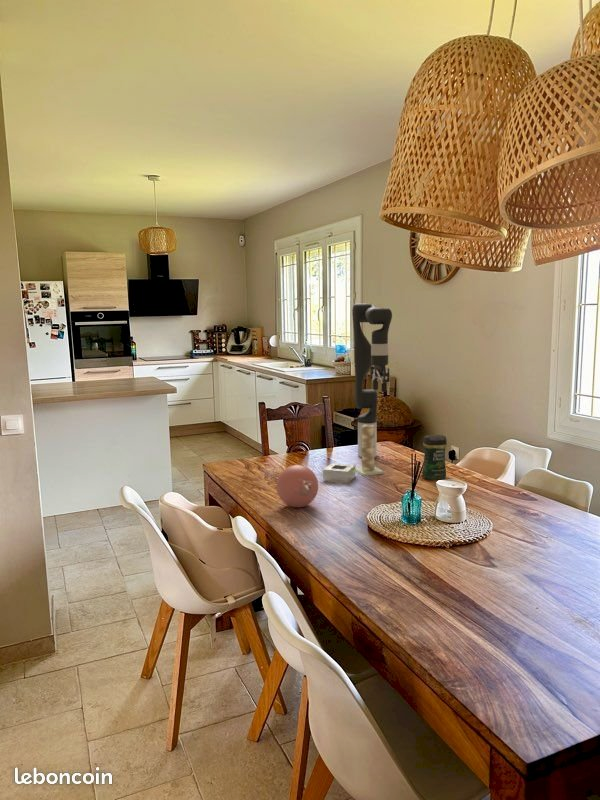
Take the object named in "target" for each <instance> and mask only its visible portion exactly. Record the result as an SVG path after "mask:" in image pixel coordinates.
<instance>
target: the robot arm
mask: <svg viewBox="0 0 600 800" xmlns="http://www.w3.org/2000/svg"><path fill="white" fill-rule="evenodd" d="M351 309H352V310H351V311H352V325H353V341H354V342H353V348H354V349H353V353H354V354H353V357H354V381H355V382H354V404H355V407H356V408H357V409H368V411H365V412H364V413H362V414H360V415H358V416H357V456H358V457H360V458H362V426H363V425H374V458H376V457H377V456H378V455H377V442H378V441H377V440H378V439H377V438H378V437H377V436H378V435H377V431H378V430H377V426H378V425H377V418H378V417H377V416H378V413H377V412H378V392H377V391H378V390H379V380H380V385H381V386H380V387H381V389H380V391H381V392H382V393H386V392H387V391H388V390H387V389H388V387H387V386H388V385H387V384H388V383H389V382H390V368H389V367H386V366H387V365H389V330H390V325H391V322H392V320H393V313H392V310H391V309H390V308H388V307H377V306H376V305H374V304H373V303H368V302H367V303H364V302H363V303H361V302H359V303H354V304H353V305H352V308H351ZM361 323H369V324H370V325H374V326H375V325H382V326H381V328H380V329H379V328H378V329H375V330H373V331H372V332H371V343H370V341H369V340H368V338H367V337H366V336H365V333H364V332H363V329H362V326H361ZM369 371H370V375H369V379H370V380H371V381H372V389H363V384H364V381H365V378H366V377H367V375H368V373H369Z"/></svg>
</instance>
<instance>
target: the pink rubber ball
mask: <svg viewBox="0 0 600 800" xmlns="http://www.w3.org/2000/svg"><path fill="white" fill-rule="evenodd" d="M276 480H277V481H276V488H275V489H276V491H277V495H278V497H279V499H280V500H281V501H282V502H283V503H284V504H285V505H287V506H289V507H292V508H302V507H306V506H308V505H309V504H311V503H312V502H313V501H314V500H315V499H316V497H317V494H318V492H319V481H318V477H317V476H316V474H315V472H314V471H313V470H312V469H311V468H309V467H307V466H305V465H301V464H295V465H294V464H293V465H290V466H288V467H286V468H285V469H283V470H282V471H281V472H280V473H279V475H278V478H277V479H276Z"/></svg>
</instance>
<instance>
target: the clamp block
mask: <svg viewBox="0 0 600 800" xmlns="http://www.w3.org/2000/svg"><path fill="white" fill-rule="evenodd" d="M355 468H356V465H355V464H347V463H346V464H345V463H335V462H331V463H330V464H328V465H326V467H324V468H323V469H322V481H323V480H324V481H323V482H330V481H333V482H332V483H340V482H342V484H349V483H350V482H351V481H352V480H353V479H355V477H356V471H355Z"/></svg>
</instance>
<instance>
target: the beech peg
mask: <svg viewBox="0 0 600 800" xmlns="http://www.w3.org/2000/svg"><path fill="white" fill-rule="evenodd" d="M374 466H375V457H374V425H363V426H362V457H361V467H362V471H373V470H374Z"/></svg>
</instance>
